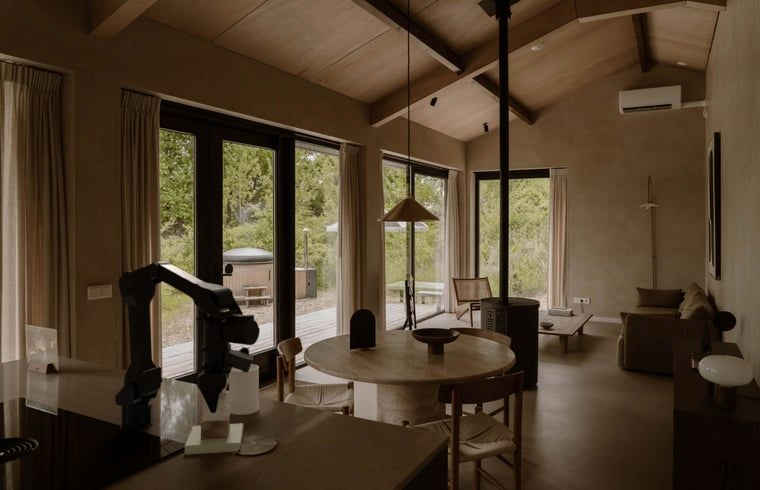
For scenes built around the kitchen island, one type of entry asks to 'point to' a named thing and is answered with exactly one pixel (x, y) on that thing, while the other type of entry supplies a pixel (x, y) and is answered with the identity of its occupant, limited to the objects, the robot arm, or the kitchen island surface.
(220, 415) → the ceramic cube
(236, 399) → the mug
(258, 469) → the kitchen island surface
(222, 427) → the walnut block
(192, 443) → the base board
